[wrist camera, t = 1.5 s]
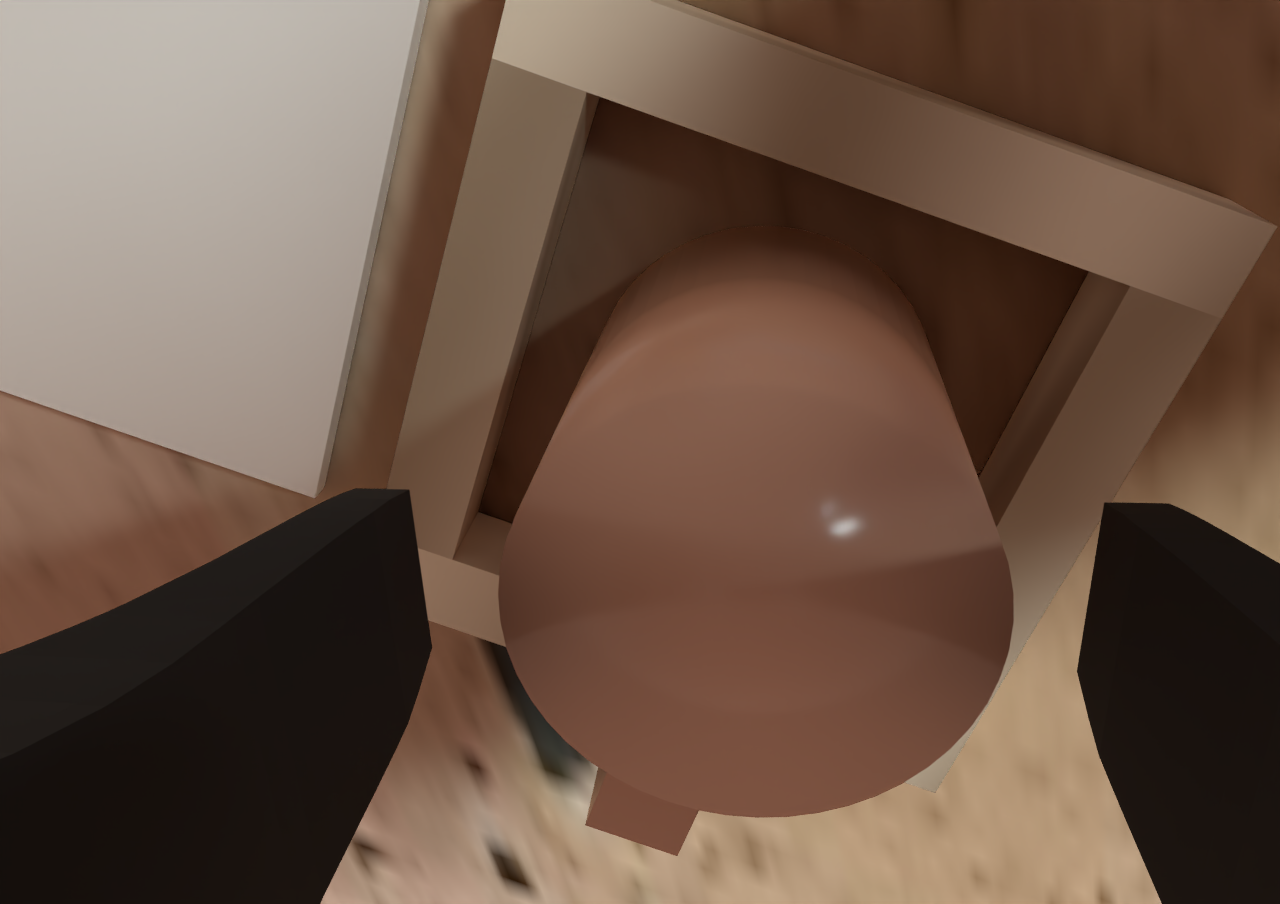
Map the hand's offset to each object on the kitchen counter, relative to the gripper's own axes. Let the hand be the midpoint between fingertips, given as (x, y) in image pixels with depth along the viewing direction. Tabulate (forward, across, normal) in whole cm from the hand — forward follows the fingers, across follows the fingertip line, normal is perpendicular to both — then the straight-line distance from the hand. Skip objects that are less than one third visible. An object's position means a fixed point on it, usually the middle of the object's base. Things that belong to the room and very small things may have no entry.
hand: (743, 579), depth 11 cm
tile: (+5, +9, -4) cm, 11 cm away
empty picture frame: (+5, 0, 0) cm, 5 cm away
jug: (+5, 0, 0) cm, 5 cm away
